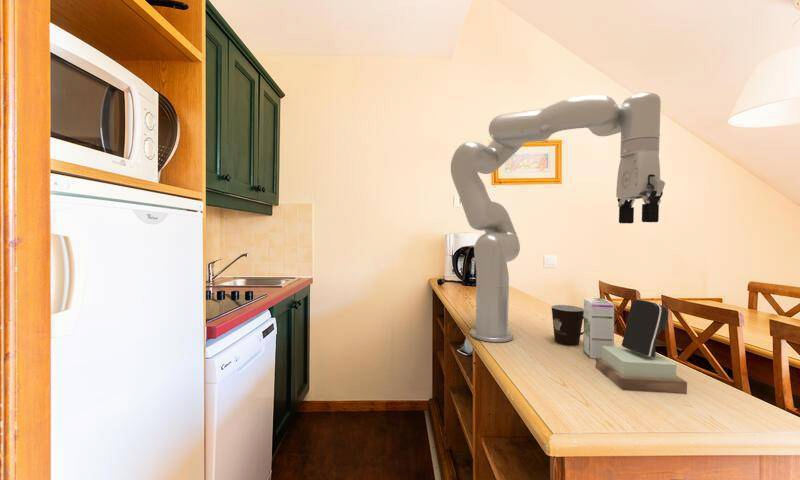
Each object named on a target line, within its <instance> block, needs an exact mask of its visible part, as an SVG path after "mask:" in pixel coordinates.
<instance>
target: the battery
mask: <svg viewBox="0 0 800 480" xmlns="http://www.w3.org/2000/svg"><path fill="white" fill-rule="evenodd" d="M668 319H669V310H668V307H666V306H664V305H662V304H658V303H657V302H653V301H650V300H649V301H648V300H644V299H635V300H633V301H632V303H631V305H630V307H629V312H628V316H627V320H626V324H625V329H624V335H623V337H622V338H623V339H622V342H621V347H625V348H627V349H629V350H631V351H634V352H636V353H639V354H642V355H645V356H649V357H655V356H656V353H657V352H656V345H657V340H658V338H659V337H658V336H659V334H660V333H661V331H662V330H663V331H666V329H667V324H668Z"/></svg>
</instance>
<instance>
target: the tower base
mask: <svg viewBox="0 0 800 480" xmlns="http://www.w3.org/2000/svg"><path fill="white" fill-rule="evenodd" d="M595 368H596V370H598V371H599V372H600V373H601V374H603V375H604V376H605V377H606V378H608V379H609V380H610V381H611V382H612V383H613V384H614V385H616V386H617V387H618V388H619V389H621V390H622V391H627V392H628V391H629V392H630V391H631V392H645V393H646V392H648V393H662V394H663V393H664V394H665V393H667V394H684V395H686V394H688V392H687V391H688V389H687V388H688V382H687V381H686V380H684V379H683V378H681V377H679V376H677V375H676V379H663V378H645V377H628V376H622V375H621V374H620V373H618V372H617V371H616V370H615V369H613V368H612V367H611V366H610V365H608V364H607V363H606V362H605V361H603V360H602V359H601V358H598V357H596V359H595Z"/></svg>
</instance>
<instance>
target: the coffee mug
mask: <svg viewBox="0 0 800 480" xmlns="http://www.w3.org/2000/svg"><path fill="white" fill-rule="evenodd" d="M551 314H552V315H551V316H552V317H551V319H552V324H553V336H554V342H555V343H557V344H559V345H564V346H570V347H571V346H572V347H573V346H575V347H576V346H579V345H580V340H581V336H583V333H584V331H582V329H583V323H584V307H580V306H576V305H569V304H568V305H567V304H555V305H554V304H553V305H551Z"/></svg>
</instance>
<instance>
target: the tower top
mask: <svg viewBox="0 0 800 480" xmlns="http://www.w3.org/2000/svg"><path fill="white" fill-rule="evenodd" d="M601 359H602V360H603V361H605V362H606V363H607V364H608V365H610V366H611V367H612V368H613V369H615V370H616V371H617V372H618V373H620V374H621V375H622V376H628V377H645V378H663V379H676V376H677V366H678V365H677V364H676V363H674V362H673V361H671V360H669V359H667V358H665V357H664V356H662V355H660V354H658V353H657V352H656V356H655V357H649V356H645V355H642V354H639V353H636V352H634V351H631V350H629V349H627V348H625V347H623V346H614V347H612V346H601Z"/></svg>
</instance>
